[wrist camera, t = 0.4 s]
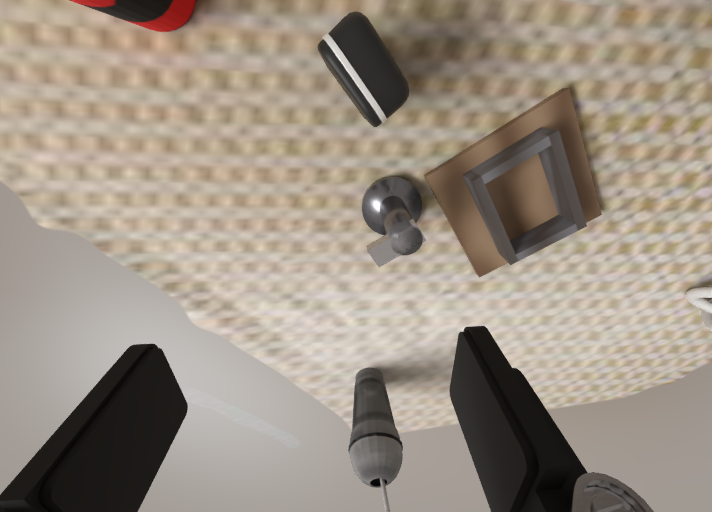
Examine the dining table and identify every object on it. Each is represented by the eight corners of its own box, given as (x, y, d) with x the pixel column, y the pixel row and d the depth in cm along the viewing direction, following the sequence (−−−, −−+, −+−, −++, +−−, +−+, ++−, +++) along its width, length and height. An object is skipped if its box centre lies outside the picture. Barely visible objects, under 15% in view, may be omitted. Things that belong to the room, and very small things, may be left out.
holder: (562, 88, 30) (591, 87, 27) (595, 211, 37) (622, 223, 33) (424, 175, 34) (433, 184, 30) (476, 273, 41) (489, 290, 37)
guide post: (402, 164, 33) (423, 187, 24) (429, 213, 36) (457, 249, 27) (350, 197, 35) (352, 230, 26) (380, 242, 38) (392, 285, 29)
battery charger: (396, 96, 30) (423, 95, 20) (367, 122, 31) (378, 133, 21) (353, 30, 27) (358, -10, 17) (322, 60, 29) (311, 39, 18)
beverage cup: (364, 355, 47) (376, 509, 29) (399, 373, 49) (430, 525, 32) (338, 381, 50) (336, 537, 32) (373, 397, 52) (388, 550, 34)
